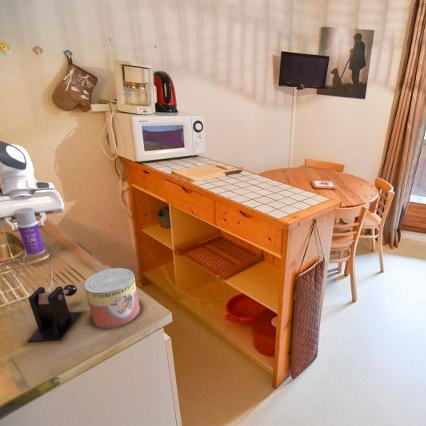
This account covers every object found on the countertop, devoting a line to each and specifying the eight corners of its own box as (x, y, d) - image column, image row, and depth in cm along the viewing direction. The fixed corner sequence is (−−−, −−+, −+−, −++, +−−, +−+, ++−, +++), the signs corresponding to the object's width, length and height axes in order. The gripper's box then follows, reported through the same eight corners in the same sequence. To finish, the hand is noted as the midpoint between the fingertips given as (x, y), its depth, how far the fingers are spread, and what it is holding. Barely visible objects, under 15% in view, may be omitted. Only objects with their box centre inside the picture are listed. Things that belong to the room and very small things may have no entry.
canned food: (105, 336, 82) (96, 298, 77) (85, 317, 87) (75, 281, 82) (148, 313, 90) (142, 278, 86) (127, 297, 96) (121, 263, 91)
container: (32, 257, 102) (19, 214, 97) (23, 253, 104) (9, 211, 98) (48, 250, 106) (37, 209, 101) (39, 247, 108) (27, 206, 102)
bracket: (53, 316, 86) (41, 280, 82) (81, 315, 88) (72, 279, 83) (29, 344, 77) (14, 306, 73) (61, 342, 79) (49, 304, 74)
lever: (66, 295, 89) (66, 283, 89) (79, 294, 90) (79, 283, 90) (35, 306, 77) (36, 292, 77) (50, 305, 78) (51, 292, 78)
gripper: (-28, 191, 95) (-21, 232, 92) (58, 182, 108) (67, 218, 105) (-22, 200, 100) (-15, 239, 97) (60, 190, 113) (69, 225, 110)
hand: (29, 228), depth 101 cm, fingers closed on container, 4 cm apart
